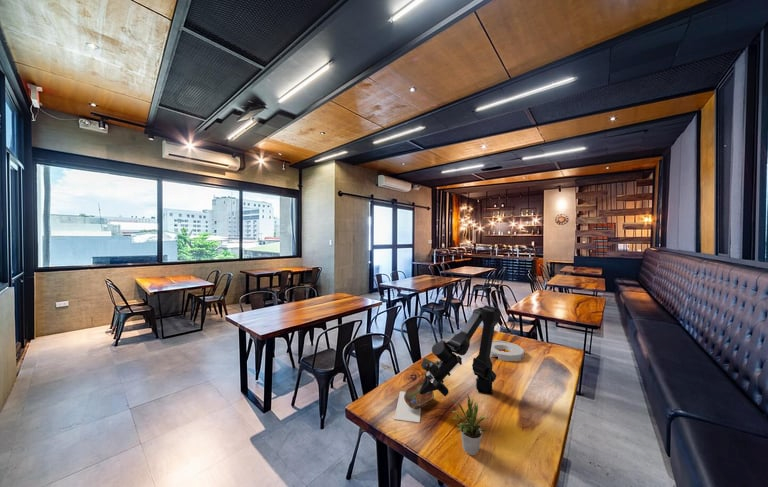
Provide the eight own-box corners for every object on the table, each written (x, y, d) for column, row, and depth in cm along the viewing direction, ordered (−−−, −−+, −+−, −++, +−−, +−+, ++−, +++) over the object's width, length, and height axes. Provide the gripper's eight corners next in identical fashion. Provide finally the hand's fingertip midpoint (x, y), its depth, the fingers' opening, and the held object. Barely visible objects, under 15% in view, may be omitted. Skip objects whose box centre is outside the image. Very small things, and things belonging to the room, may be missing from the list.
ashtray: (531, 362, 162) (531, 355, 162) (491, 361, 162) (491, 355, 162) (513, 346, 185) (513, 340, 185) (478, 346, 186) (478, 340, 186)
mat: (421, 394, 128) (421, 393, 128) (419, 422, 108) (419, 422, 108) (400, 391, 130) (400, 391, 130) (394, 419, 110) (394, 419, 110)
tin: (414, 408, 113) (402, 390, 118) (411, 413, 114) (399, 394, 119) (437, 396, 123) (425, 379, 128) (434, 400, 124) (422, 384, 129)
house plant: (444, 431, 104) (444, 387, 103) (481, 432, 103) (482, 388, 103) (452, 462, 90) (453, 412, 89) (495, 463, 89) (497, 413, 89)
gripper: (425, 344, 126) (401, 370, 125) (441, 363, 108) (413, 393, 106) (442, 360, 128) (418, 386, 126) (460, 381, 109) (432, 412, 108)
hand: (420, 393), depth 117 cm, fingers closed
